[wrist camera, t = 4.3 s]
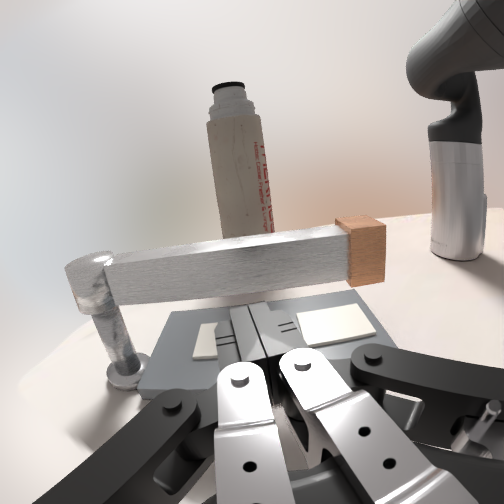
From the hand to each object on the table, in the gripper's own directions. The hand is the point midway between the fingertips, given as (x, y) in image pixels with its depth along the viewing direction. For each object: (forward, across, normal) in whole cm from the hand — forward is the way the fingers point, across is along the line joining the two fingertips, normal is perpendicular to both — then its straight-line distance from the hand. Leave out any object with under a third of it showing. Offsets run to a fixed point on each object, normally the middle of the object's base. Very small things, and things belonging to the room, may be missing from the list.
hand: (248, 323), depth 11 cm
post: (+9, +10, +9) cm, 16 cm away
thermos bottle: (+32, -5, +9) cm, 33 cm away
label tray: (+10, -2, +9) cm, 13 cm away
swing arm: (+7, +1, +2) cm, 8 cm away
